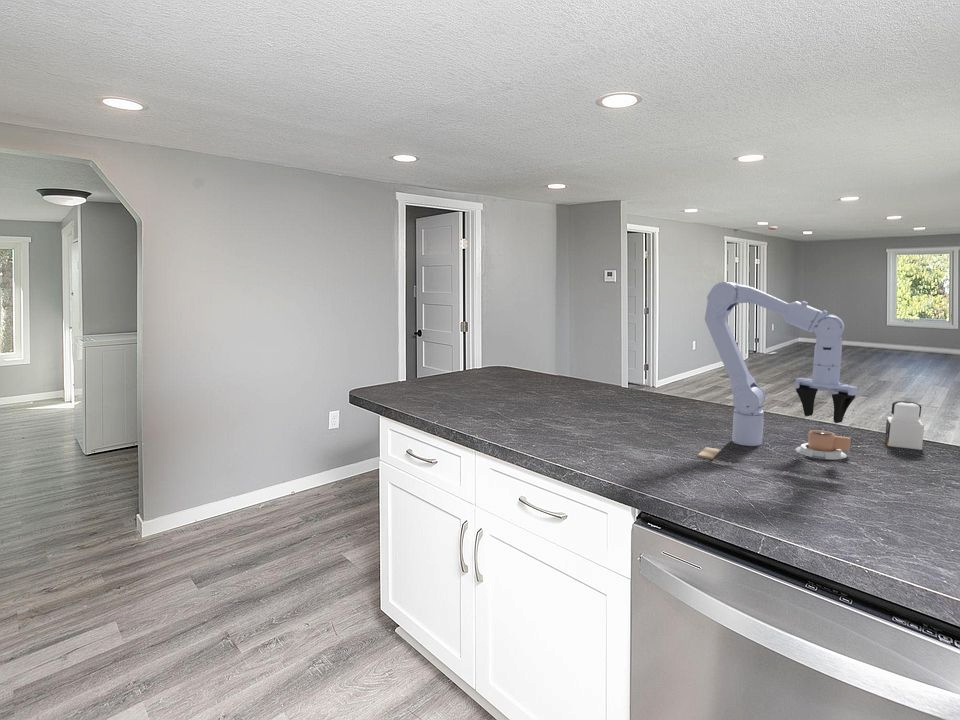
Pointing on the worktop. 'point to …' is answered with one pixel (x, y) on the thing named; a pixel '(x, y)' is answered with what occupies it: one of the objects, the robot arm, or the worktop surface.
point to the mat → (709, 453)
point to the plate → (820, 453)
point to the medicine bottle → (905, 426)
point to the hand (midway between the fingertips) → (822, 418)
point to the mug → (827, 441)
